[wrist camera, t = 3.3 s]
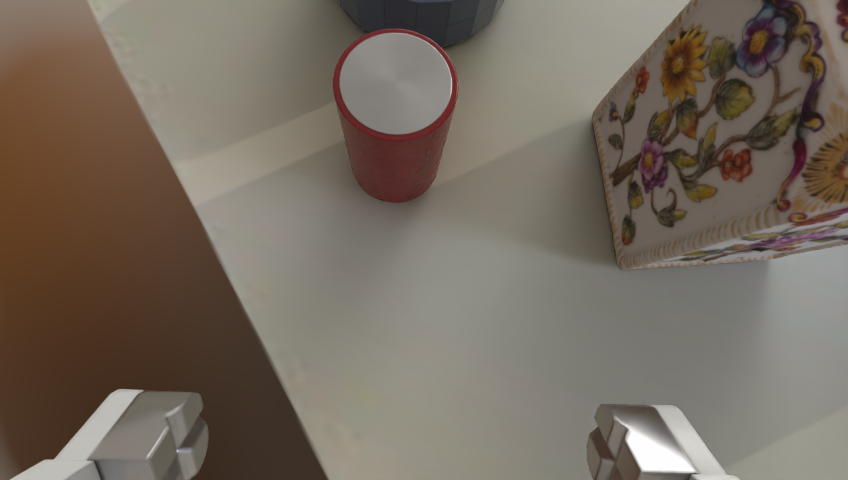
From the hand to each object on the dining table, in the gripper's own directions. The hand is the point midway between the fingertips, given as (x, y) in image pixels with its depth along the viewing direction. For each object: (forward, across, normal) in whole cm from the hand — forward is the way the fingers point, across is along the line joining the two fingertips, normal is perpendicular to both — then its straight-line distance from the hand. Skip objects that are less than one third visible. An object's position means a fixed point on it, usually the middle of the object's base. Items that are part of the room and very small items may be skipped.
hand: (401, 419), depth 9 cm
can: (+22, +1, 0) cm, 22 cm away
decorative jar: (+23, -19, +1) cm, 29 cm away
